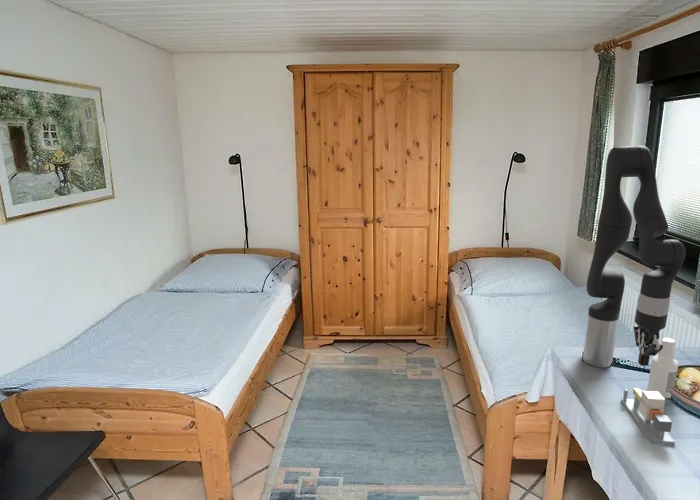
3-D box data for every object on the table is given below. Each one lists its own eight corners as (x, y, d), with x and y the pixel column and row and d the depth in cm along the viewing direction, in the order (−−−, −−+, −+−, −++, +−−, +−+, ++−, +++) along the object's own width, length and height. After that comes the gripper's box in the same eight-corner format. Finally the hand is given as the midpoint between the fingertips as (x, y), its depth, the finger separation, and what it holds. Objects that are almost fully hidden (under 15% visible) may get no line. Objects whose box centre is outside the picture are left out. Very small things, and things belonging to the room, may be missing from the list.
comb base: (620, 401, 148) (622, 387, 147) (640, 402, 147) (642, 388, 146) (651, 443, 129) (654, 428, 128) (674, 445, 128) (677, 430, 127)
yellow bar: (629, 394, 145) (631, 385, 144) (640, 395, 145) (641, 386, 144) (658, 431, 128) (659, 421, 127) (670, 432, 128) (672, 422, 127)
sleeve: (638, 411, 138) (642, 390, 136) (654, 411, 137) (658, 391, 136) (645, 419, 134) (648, 398, 132) (661, 420, 134) (665, 399, 132)
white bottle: (676, 399, 148) (686, 345, 143) (652, 397, 149) (660, 344, 145) (667, 387, 155) (676, 335, 150) (643, 386, 156) (652, 334, 151)
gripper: (627, 299, 142) (619, 352, 147) (649, 318, 130) (639, 376, 135) (655, 300, 141) (646, 353, 147) (679, 319, 129) (668, 377, 134)
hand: (642, 364), depth 141 cm, fingers closed
